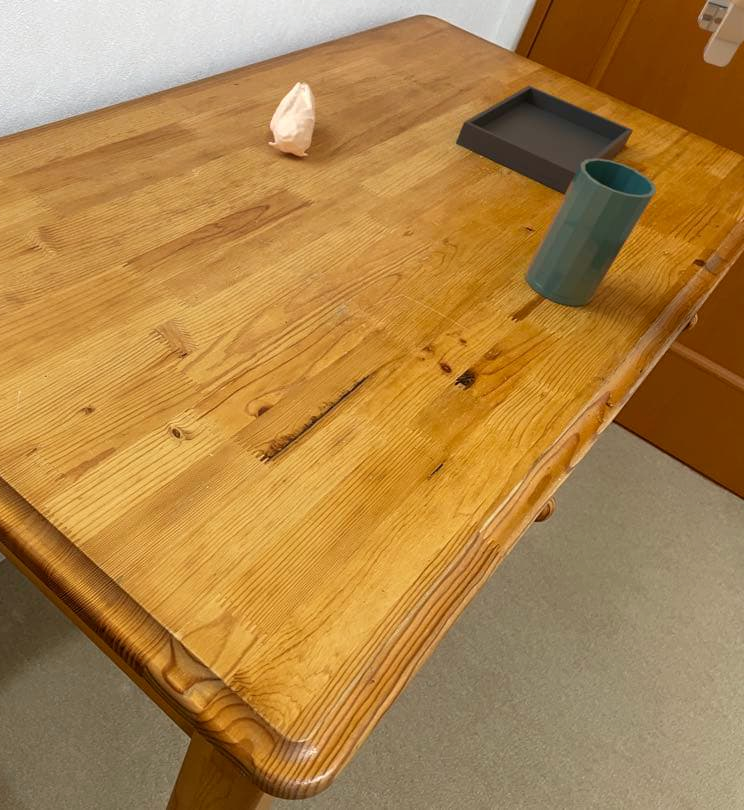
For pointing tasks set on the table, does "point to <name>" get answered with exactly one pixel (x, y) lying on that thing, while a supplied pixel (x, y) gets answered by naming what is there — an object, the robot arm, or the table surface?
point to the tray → (542, 136)
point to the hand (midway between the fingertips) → (709, 44)
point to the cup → (588, 231)
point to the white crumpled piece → (294, 121)
